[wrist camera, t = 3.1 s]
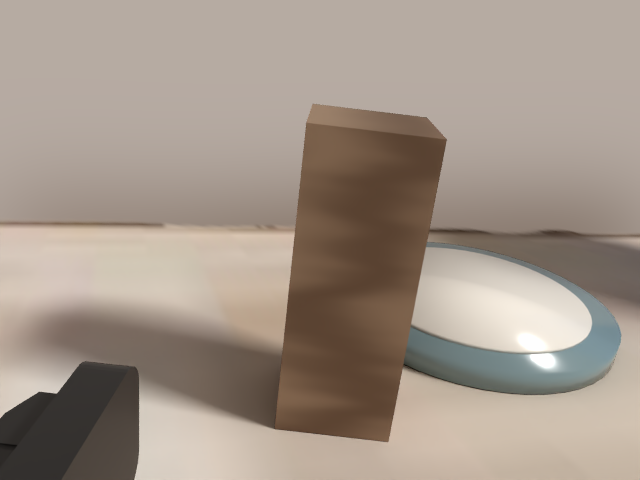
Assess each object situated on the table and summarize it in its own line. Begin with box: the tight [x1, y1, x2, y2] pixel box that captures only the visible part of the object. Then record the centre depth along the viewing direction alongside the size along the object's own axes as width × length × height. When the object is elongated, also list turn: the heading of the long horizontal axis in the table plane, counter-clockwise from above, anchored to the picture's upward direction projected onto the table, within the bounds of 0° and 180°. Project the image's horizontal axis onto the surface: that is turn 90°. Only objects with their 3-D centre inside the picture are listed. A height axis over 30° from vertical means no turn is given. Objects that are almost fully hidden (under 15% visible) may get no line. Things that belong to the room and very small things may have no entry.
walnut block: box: [275, 104, 447, 442], centre depth 22 cm, size 4×4×12 cm
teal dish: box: [403, 242, 621, 394], centre depth 34 cm, size 16×16×1 cm
